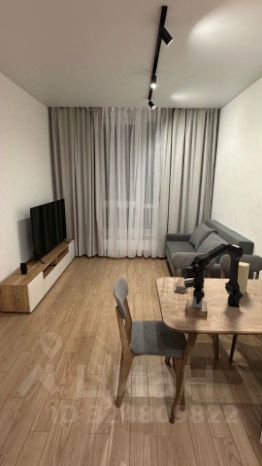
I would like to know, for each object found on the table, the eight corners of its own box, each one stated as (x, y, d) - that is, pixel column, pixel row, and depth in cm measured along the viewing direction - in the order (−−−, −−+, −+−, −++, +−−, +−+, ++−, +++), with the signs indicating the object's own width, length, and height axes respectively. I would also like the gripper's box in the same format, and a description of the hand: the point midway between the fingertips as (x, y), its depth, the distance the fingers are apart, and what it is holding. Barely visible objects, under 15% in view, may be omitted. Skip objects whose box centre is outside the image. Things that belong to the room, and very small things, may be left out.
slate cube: (201, 303, 156) (202, 295, 155) (201, 308, 151) (202, 299, 150) (192, 302, 157) (192, 294, 156) (192, 306, 152) (193, 298, 151)
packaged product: (188, 287, 177) (174, 285, 180) (188, 293, 178) (174, 292, 181) (189, 278, 194) (176, 276, 197) (189, 283, 195) (176, 282, 198)
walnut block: (205, 307, 159) (206, 302, 159) (207, 317, 148) (207, 311, 147) (186, 305, 162) (186, 299, 161) (186, 315, 150) (186, 309, 150)
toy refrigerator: (236, 288, 188) (239, 261, 184) (246, 291, 184) (250, 263, 179) (232, 291, 182) (235, 264, 178) (243, 294, 177) (246, 266, 173)
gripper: (185, 270, 161) (183, 292, 164) (185, 281, 143) (183, 306, 146) (203, 271, 158) (201, 294, 162) (205, 283, 141) (203, 309, 144)
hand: (197, 300), depth 153 cm, fingers open, 8 cm apart
